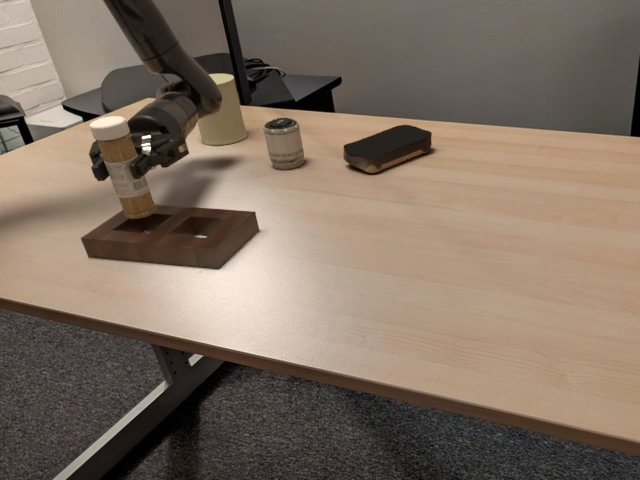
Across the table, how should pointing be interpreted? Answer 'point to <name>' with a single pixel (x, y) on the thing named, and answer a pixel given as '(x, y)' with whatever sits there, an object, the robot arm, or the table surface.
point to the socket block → (173, 236)
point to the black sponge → (387, 148)
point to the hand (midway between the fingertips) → (116, 173)
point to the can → (224, 116)
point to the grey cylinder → (284, 143)
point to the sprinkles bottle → (122, 166)
